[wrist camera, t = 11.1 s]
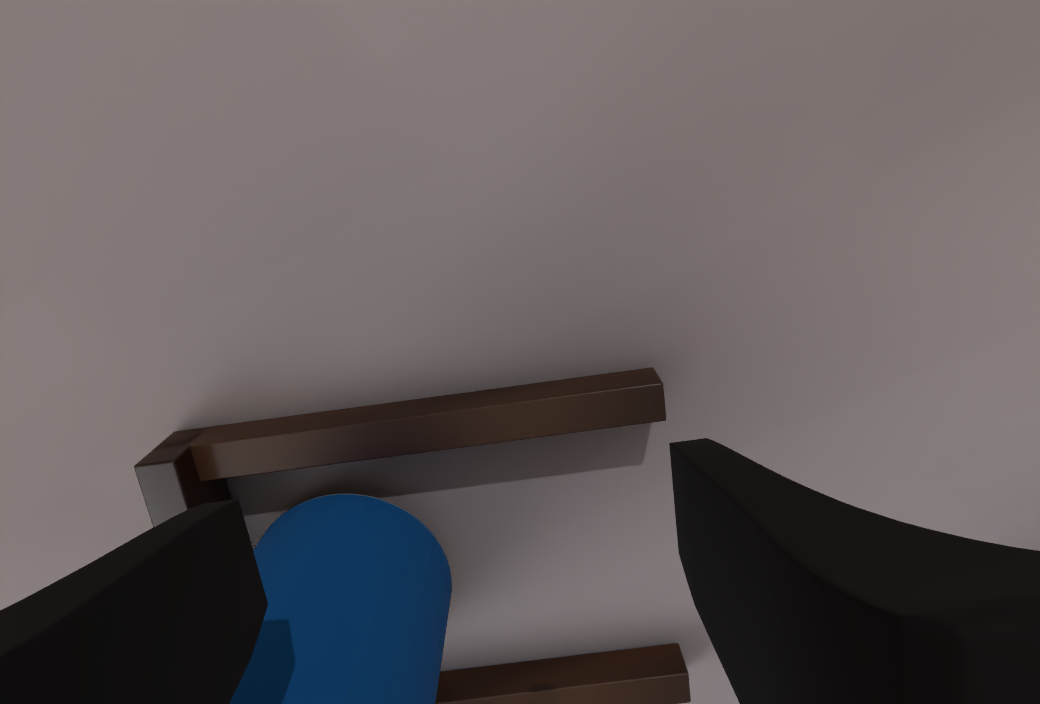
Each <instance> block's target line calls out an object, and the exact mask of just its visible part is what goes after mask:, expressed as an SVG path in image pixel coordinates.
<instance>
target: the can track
mask: <svg viewBox="0 0 1040 704" xmlns="http://www.w3.org/2000/svg"><path fill="white" fill-rule="evenodd" d="M665 420H666V411H665V399H664V388H663V383H662V381H661V379H660V378H659V376H658V375H657V373H656V371H655V370H654V368H646V369H639V370H631V371H624V372H616V373H609V374H601V375H594V376H587V377H579V378H572V379H564V380H557V381H549V382H542V383H534V384H527V385H519V386H512V387H504V388H497V389H489V390H482V391H475V392H467V393H460V394H452V395H445V396H437V397H430V398H422V399H415V400H407V401H400V402H392V403H385V404H378V405H370V406H363V407H355V408H348V409H340V410H333V411H325V412H318V413H310V414H303V415H295V416H288V417H280V418H273V419H266V420H258V421H251V422H243V423H236V424H228V425H221V426H213V427H206V428H198V429H191V430H183V431H176V432H173V433H172V434H171V435H170V436H169V437H167V438H166V439H165V440H164V441H163V442H162V443H160V444H159V445H158V446H157V447H156V448H155V449H153V450H152V451H151V452H150V453H149V454H148V455H147V456H145V457H144V458H143V459H142V460H141V461H139V462H138V463H137V464H136V465H135V466H134V468H135V471H136V474H137V477H138V480H139V484H140V487H141V490H142V493H143V496H144V499H145V502H146V505H147V508H148V511H149V514H150V517H151V521H152V524H153V527H155V526H157V525H159V524H161V523H163V522H164V521H166V520H168V519H170V518H172V517H174V516H176V515H178V514H180V513H182V512H184V511H186V510H189V509H191V508H193V507H196V506H199V505H201V504H206V503H213V502H221V501H229V500H231V498H230V495H229V491H228V488H227V484H226V481H225V478H232V477H240V476H247V475H255V474H262V473H270V472H278V471H285V470H293V469H300V468H308V467H316V466H323V465H331V464H339V463H346V462H354V461H361V460H369V459H377V458H384V457H392V456H399V455H407V454H415V453H422V452H430V451H438V450H445V449H453V448H460V447H468V446H476V445H483V444H491V443H498V442H506V441H514V440H521V439H529V438H536V437H544V436H552V435H559V434H567V433H575V432H582V431H590V430H597V429H605V428H613V427H620V426H628V425H635V424H643V423H651V422H658V421H665ZM690 701H691V699H690V687H689V676H688V671H687V668H686V665H685V662H684V659H683V656H682V653H681V649H680V646H679V644H678V643H675V644H667V645H659V646H651V647H642V648H634V649H626V650H617V651H609V652H601V653H592V654H584V655H576V656H568V657H559V658H551V659H543V660H534V661H526V662H518V663H509V664H501V665H493V666H485V667H476V668H468V669H460V670H451V671H443V672H440V674H439V681H438V688H437V695H436V702H435V704H679V703H687V702H690Z"/></svg>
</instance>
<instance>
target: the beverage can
mask: <svg viewBox="0 0 1040 704" xmlns="http://www.w3.org/2000/svg"><path fill="white" fill-rule="evenodd" d="M253 552H254V556H255V559H256V563H257V566H258V570H259V573H260V577H261V580H262V584H263V587H264V591H265V595H266V598H267V602H268V606H267V609H266V613H265V616H264V619H263V623H262V626H261V630H260V633H259V636H258V639H257V642H256V645H255V648H254V651H253V654H252V657H251V659H250V661H249V663H248V666H247V668H246V670H245V672H244V674H243V676H242V678H241V681H240V683H239V685H238V687H237V689H236V691H235V693H234V695H233V697H232V699H231V701H230V703H229V704H435V702H436V695H437V688H438V681H439V674H440V667H441V660H442V653H443V646H444V639H445V632H446V625H447V619H448V612H449V605H450V598H451V591H452V590H451V574H450V568H449V565H448V561H447V558H446V555H445V553H444V551H443V549H442V547H441V545H440V544H439V542H438V541H437V539H436V538H435V536H434V535H433V534H432V532H431V531H430V530H429V529H428V528H427V527H426V526H425V525H424V524H423V523H422V522H421V521H420V520H419V519H417V518H416V517H415V516H413V515H412V514H411V513H409V512H408V511H406V510H405V509H403V508H401V507H399V506H397V505H395V504H393V503H390V502H388V501H385V500H383V499H379V498H375V497H372V496H367V495H360V494H332V495H325V496H321V497H316V498H313V499H310V500H307V501H305V502H302V503H300V504H298V505H296V506H294V507H293V508H291V509H289V510H288V511H287V512H285V513H284V514H282V515H281V516H280V517H279V518H278V519H277V520H276V521H274V522H273V523H272V524H271V526H270V527H269V528H268V529H267V531H266V532H265V533H264V535H263V536H262V538H261V539H260V541H259V543H258V544H257V546H256V547H255V549H254V550H253Z"/></svg>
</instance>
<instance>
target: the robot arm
mask: <svg viewBox="0 0 1040 704" xmlns="http://www.w3.org/2000/svg"><path fill="white" fill-rule="evenodd" d="M669 445H670V456H671V468H672V479H673V491H674V503H675V514H676V526H677V537H678V549H679V555H680V558H681V562H682V565H683V568H684V572H685V575H686V579H687V582H688V585H689V588H690V591H691V595H692V598H693V601H694V604H695V606H696V609H697V611H698V613H699V615H700V618H701V620H702V622H703V624H704V626H705V629H706V631H707V633H708V635H709V637H710V640H711V642H712V644H713V646H714V648H715V651H716V653H717V655H718V657H719V659H720V661H721V664H722V666H723V668H724V670H725V672H726V674H727V677H728V679H729V681H730V683H731V685H732V687H733V690H734V692H735V694H736V696H737V698H738V700H739V703H740V704H1040V551H1035V550H1029V549H1022V548H1016V547H1009V546H1004V545H999V544H994V543H988V542H983V541H978V540H973V539H968V538H964V537H960V536H956V535H951V534H947V533H943V532H939V531H934V530H930V529H926V528H922V527H918V526H915V525H911V524H907V523H904V522H900V521H897V520H894V519H891V518H888V517H885V516H882V515H878V514H875V513H872V512H869V511H866V510H863V509H860V508H857V507H854V506H852V505H849V504H846V503H844V502H841V501H838V500H836V499H833V498H831V497H829V496H826V495H824V494H822V493H819V492H817V491H814V490H812V489H810V488H807V487H805V486H803V485H801V484H799V483H796V482H794V481H792V480H790V479H788V478H786V477H784V476H782V475H780V474H777V473H775V472H774V471H772V470H770V469H768V468H766V467H764V466H762V465H760V464H758V463H756V462H754V461H752V460H750V459H748V458H746V457H744V456H743V455H741V454H739V453H737V452H735V451H733V450H731V449H729V448H727V447H725V446H723V445H721V444H719V443H717V442H715V441H713V440H710V439H708V438H705V439H697V440H689V441H682V442H674V443H669ZM267 606H268V602H267V598H266V595H265V591H264V587H263V584H262V580H261V577H260V573H259V570H258V566H257V563H256V559H255V556H254V552H253V548H252V545H251V541H250V538H249V534H248V531H247V527H246V524H245V520H244V517H243V513H242V509H241V506H240V502H239V499H236V500H229V501H221V502H213V503H206V504H201V505H199V506H196V507H193V508H191V509H189V510H186V511H184V512H182V513H180V514H178V515H176V516H174V517H172V518H170V519H168V520H166V521H164V522H163V523H161V524H159V525H157V526H155V527H153V528H152V529H150V530H148V531H146V532H145V533H143V534H141V535H139V536H137V537H136V538H134V539H132V540H130V541H129V542H127V543H125V544H123V545H122V546H120V547H118V548H116V549H114V550H113V551H111V552H109V553H107V554H106V555H104V556H102V557H100V558H99V559H97V560H95V561H93V562H92V563H90V564H88V565H86V566H84V567H82V568H81V569H79V570H77V571H75V572H73V573H71V574H69V575H68V576H66V577H64V578H62V579H60V580H58V581H56V582H54V583H53V584H51V585H49V586H47V587H45V588H43V589H41V590H40V591H38V592H36V593H34V594H32V595H30V596H28V597H27V598H25V599H23V600H21V601H19V602H17V603H15V604H13V605H11V606H9V607H7V608H5V609H3V610H1V611H0V704H229V703H230V701H231V699H232V697H233V695H234V693H235V691H236V689H237V687H238V685H239V683H240V681H241V678H242V676H243V674H244V672H245V670H246V668H247V666H248V663H249V661H250V659H251V657H252V654H253V651H254V648H255V645H256V642H257V639H258V636H259V633H260V630H261V626H262V623H263V619H264V616H265V613H266V609H267Z"/></svg>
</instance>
